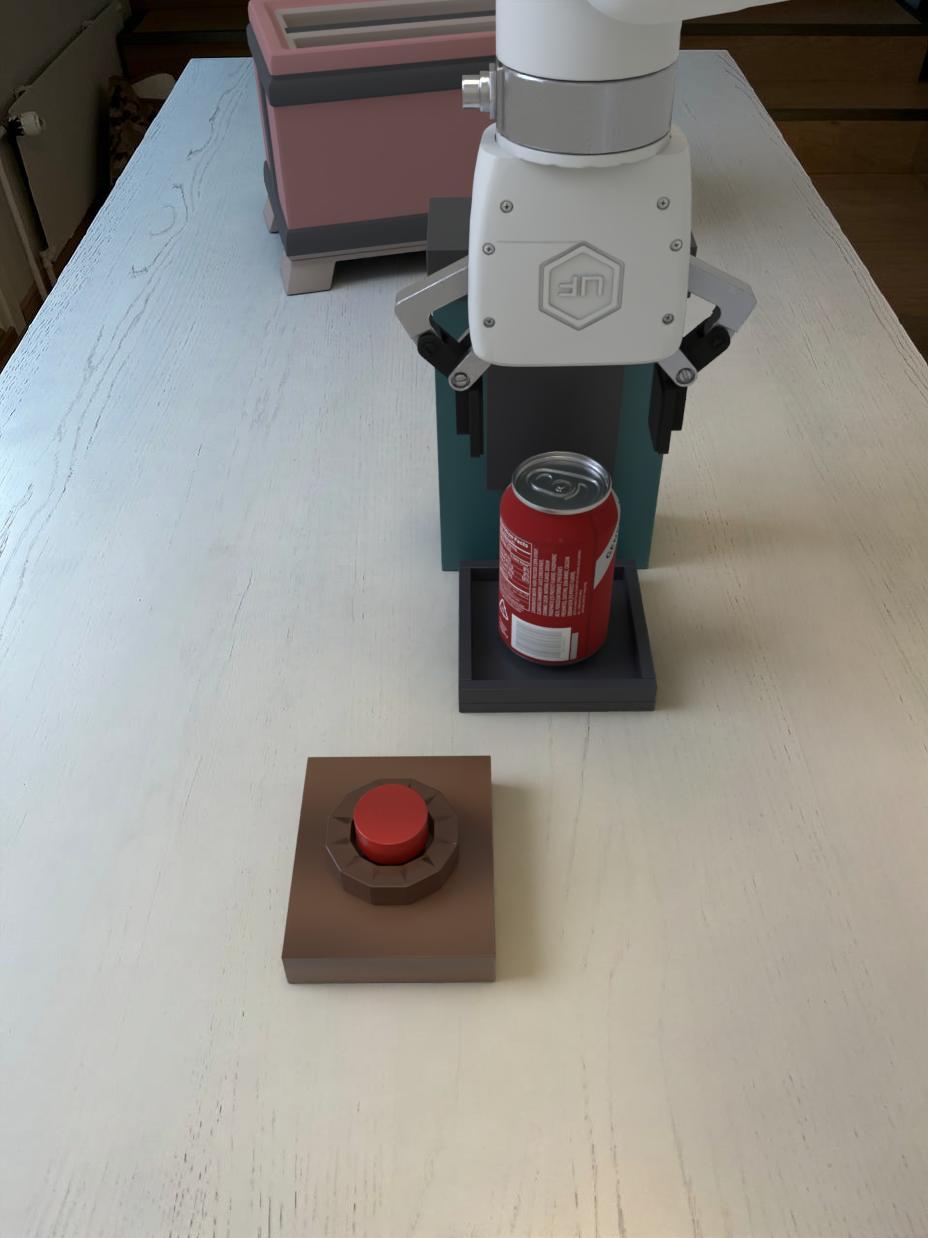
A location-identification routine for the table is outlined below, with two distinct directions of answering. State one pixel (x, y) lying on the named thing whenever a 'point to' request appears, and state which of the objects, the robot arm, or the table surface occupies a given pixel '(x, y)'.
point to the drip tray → (522, 686)
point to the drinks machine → (535, 424)
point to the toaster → (364, 122)
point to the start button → (391, 824)
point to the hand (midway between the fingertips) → (567, 441)
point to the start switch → (393, 878)
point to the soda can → (557, 558)
